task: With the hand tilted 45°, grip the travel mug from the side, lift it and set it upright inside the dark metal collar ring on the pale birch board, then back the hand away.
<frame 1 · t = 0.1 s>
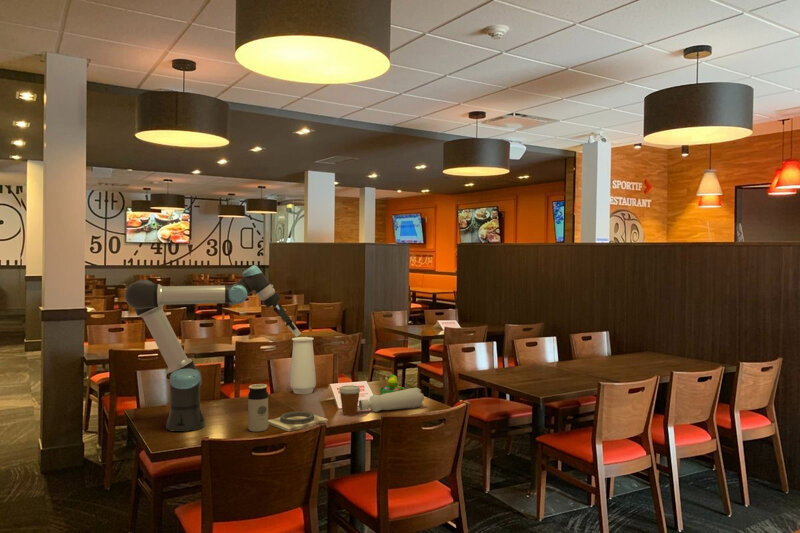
hand: (296, 333, 280), 36 cm above the table, tool tilted 35°, fingers open, 13 cm apart
travel mug: (258, 429, 252), on the table
collar board: (297, 422, 262), on the table
bottle: (391, 410, 283), on the table
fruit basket: (392, 398, 305), on the table
disposable coffee cup: (349, 414, 276), on the table
vase: (303, 392, 318), on the table
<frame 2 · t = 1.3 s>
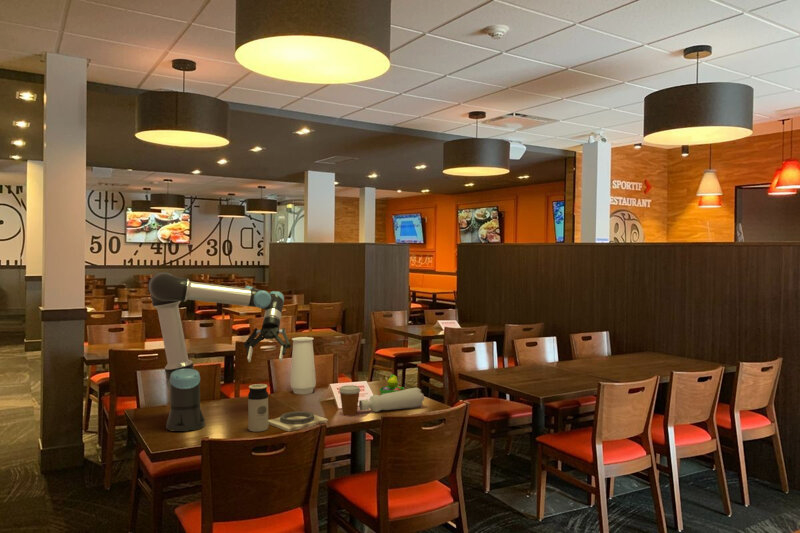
hand: (264, 360, 262), 27 cm above the table, tool tilted 45°, fingers open, 13 cm apart
nothing on the table moved.
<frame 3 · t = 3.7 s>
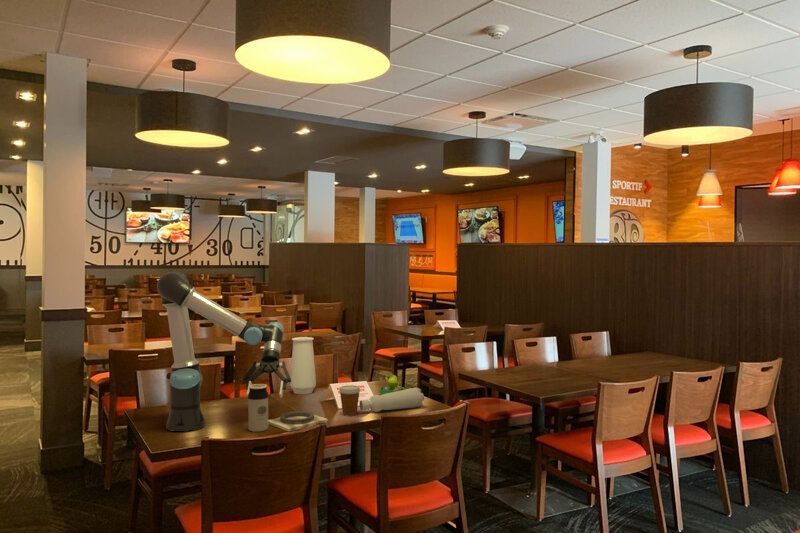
hand: (264, 396, 256), 13 cm above the table, tool tilted 45°, fingers open, 13 cm apart
nothing on the table moved.
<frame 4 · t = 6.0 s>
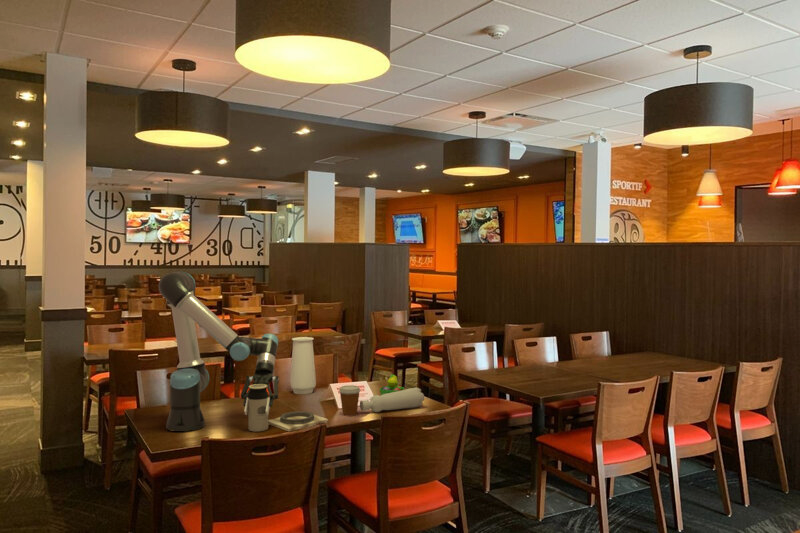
hand: (256, 413, 249), 8 cm above the table, tool tilted 45°, fingers closed on travel mug, 8 cm apart
travel mug: (258, 429, 252), on the table, touching gripper
everything else where it was.
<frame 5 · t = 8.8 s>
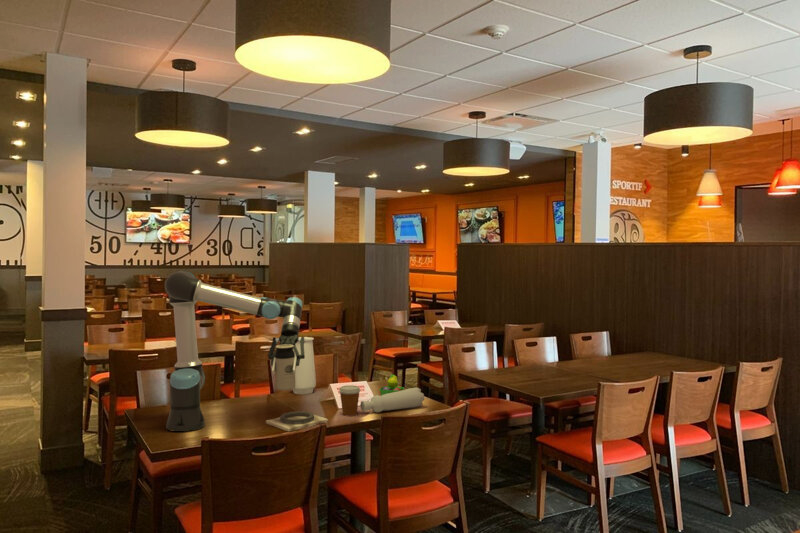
hand: (283, 371, 254), 23 cm above the table, tool tilted 45°, fingers closed on travel mug, 8 cm apart
travel mug: (285, 388, 258), point 15 cm above the table, touching gripper
when the fingers open (10 cm above the table, at t = 11.8 s): travel mug drops 1 cm, resting on collar board.
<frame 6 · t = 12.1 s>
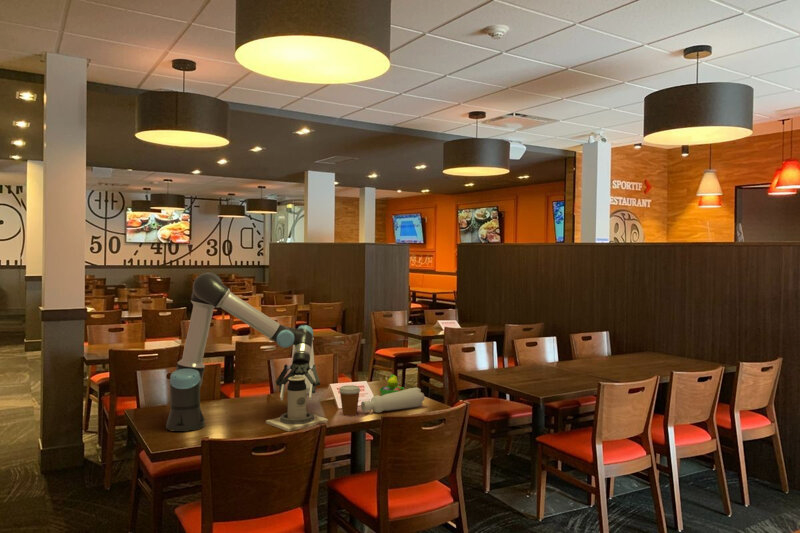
hand: (295, 399, 259), 11 cm above the table, tool tilted 45°, fingers open, 11 cm apart
travel mug: (297, 420, 262), point 1 cm above the table, touching collar board
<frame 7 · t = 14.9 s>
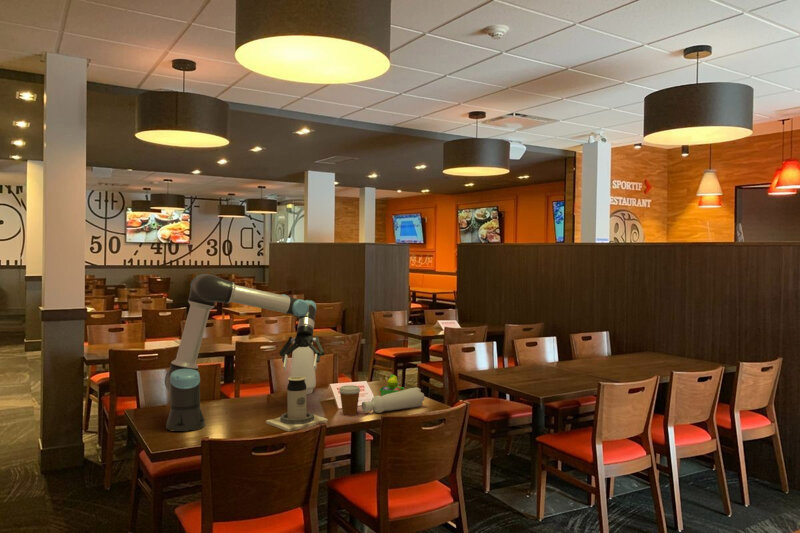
hand: (299, 368, 272), 21 cm above the table, tool tilted 45°, fingers open, 13 cm apart
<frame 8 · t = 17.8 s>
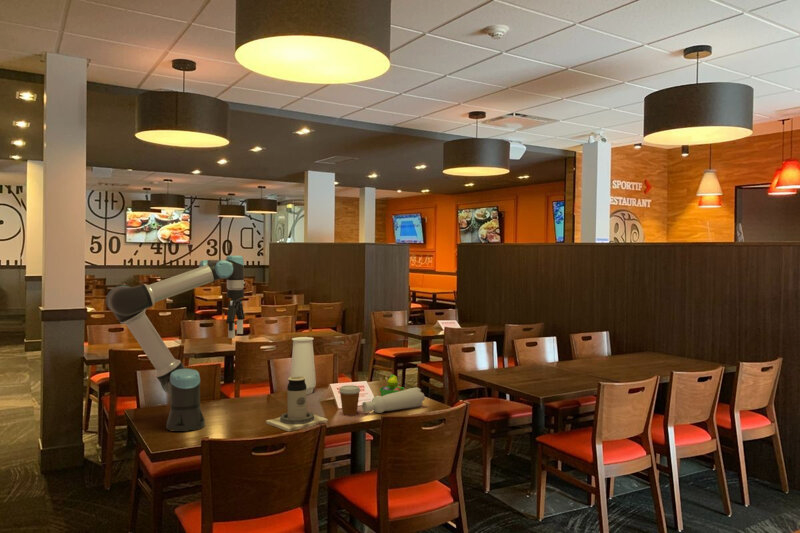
hand: (235, 335, 280), 35 cm above the table, tool pointing down, fingers open, 13 cm apart
at the end: travel mug 0.0 cm off-centre on the collar board, point 1.0 cm above the collar board's base; travel mug tilted 0°; the gripper is holding nothing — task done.
